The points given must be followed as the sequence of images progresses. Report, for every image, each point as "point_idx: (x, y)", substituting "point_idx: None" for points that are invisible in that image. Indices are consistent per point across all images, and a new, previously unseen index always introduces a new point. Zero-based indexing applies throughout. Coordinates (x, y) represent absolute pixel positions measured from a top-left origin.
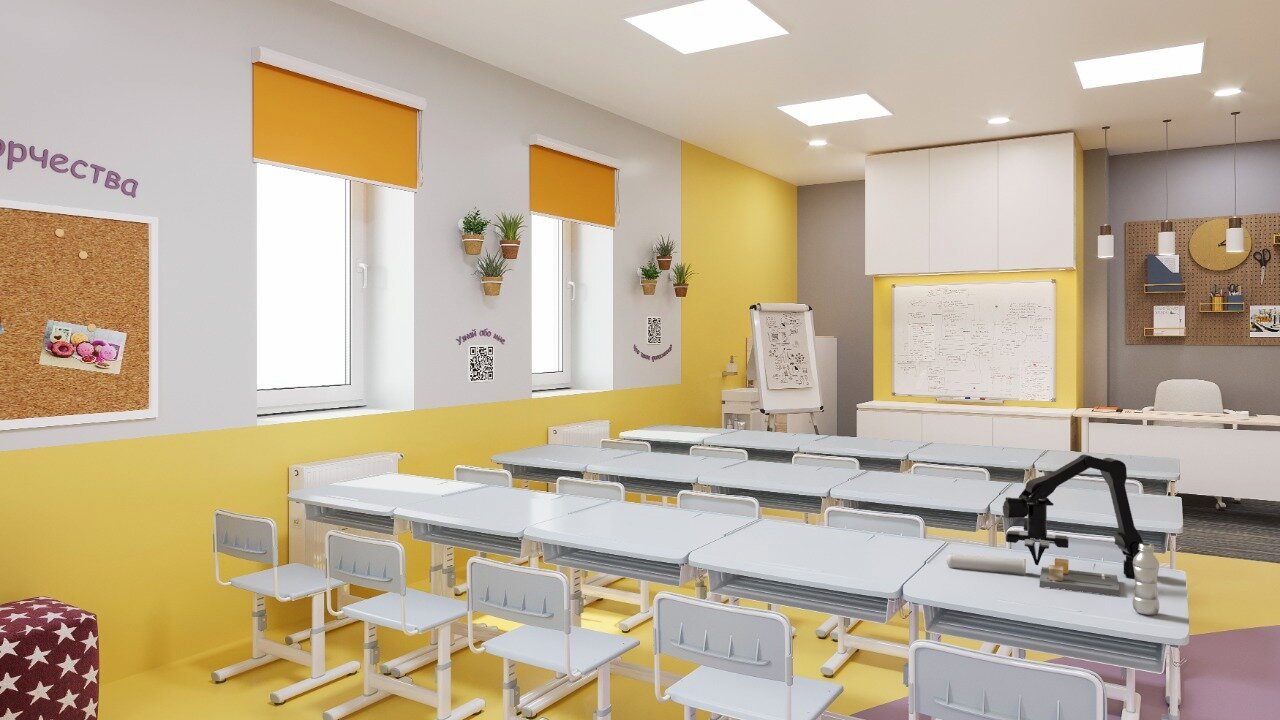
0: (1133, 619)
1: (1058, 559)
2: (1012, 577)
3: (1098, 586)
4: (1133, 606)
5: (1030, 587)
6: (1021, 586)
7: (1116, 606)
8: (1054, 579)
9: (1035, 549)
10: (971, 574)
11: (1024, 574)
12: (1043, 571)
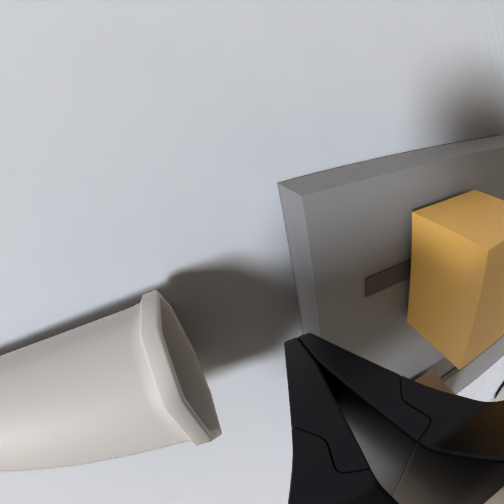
0: None
1: (498, 276)
2: None
3: (501, 350)
4: None
5: (286, 469)
6: (253, 481)
7: (480, 396)
8: None
9: (366, 470)
10: (15, 471)
11: (192, 367)
12: (337, 338)
